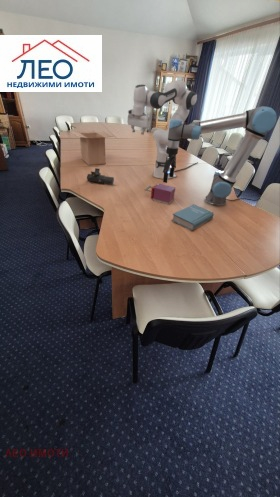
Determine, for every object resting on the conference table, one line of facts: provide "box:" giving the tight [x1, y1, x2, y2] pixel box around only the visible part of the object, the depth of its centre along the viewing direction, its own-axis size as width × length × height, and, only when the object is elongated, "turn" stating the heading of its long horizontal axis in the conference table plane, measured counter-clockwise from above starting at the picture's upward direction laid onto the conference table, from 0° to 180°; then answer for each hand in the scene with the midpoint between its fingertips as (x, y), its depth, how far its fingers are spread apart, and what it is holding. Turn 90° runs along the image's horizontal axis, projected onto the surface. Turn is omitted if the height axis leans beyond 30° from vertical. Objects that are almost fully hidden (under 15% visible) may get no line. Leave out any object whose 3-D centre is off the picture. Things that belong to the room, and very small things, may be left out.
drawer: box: [144, 184, 159, 199], centre depth 166 cm, size 17×9×8 cm, turn 63°
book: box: [171, 203, 215, 231], centre depth 142 cm, size 23×16×5 cm
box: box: [70, 129, 114, 166], centre depth 229 cm, size 44×36×27 cm
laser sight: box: [86, 168, 115, 185], centre depth 184 cm, size 10×22×10 cm, turn 78°
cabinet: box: [152, 183, 176, 205], centre depth 164 cm, size 13×10×10 cm
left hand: (137, 133), depth 168 cm, fingers open, 8 cm apart
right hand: (168, 179), depth 156 cm, fingers open, 13 cm apart
